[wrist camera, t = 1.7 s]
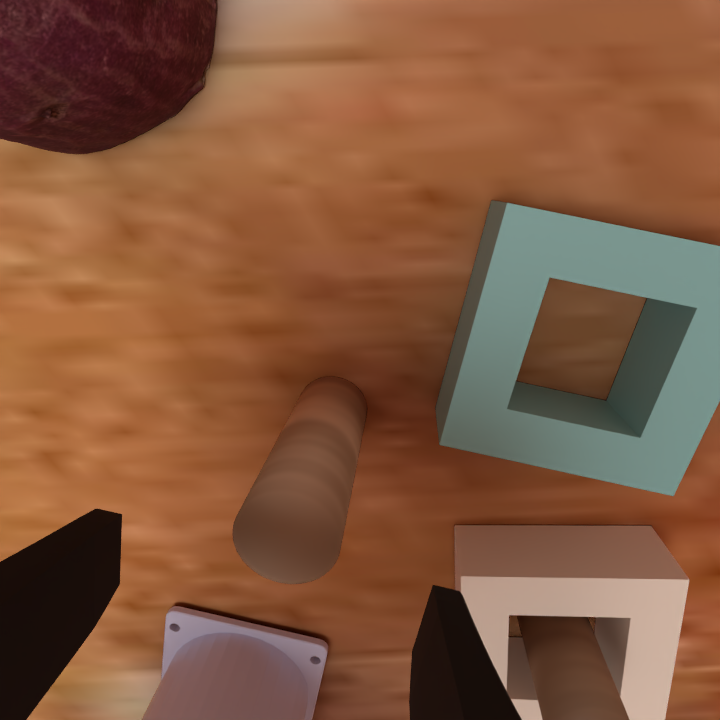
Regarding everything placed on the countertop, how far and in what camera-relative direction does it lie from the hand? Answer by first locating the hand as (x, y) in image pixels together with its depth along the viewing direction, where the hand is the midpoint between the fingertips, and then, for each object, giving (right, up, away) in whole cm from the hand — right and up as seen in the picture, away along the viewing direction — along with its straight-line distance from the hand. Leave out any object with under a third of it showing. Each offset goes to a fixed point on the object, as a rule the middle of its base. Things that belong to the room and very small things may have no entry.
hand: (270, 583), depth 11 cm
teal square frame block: (+10, +6, +7) cm, 13 cm away
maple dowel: (+1, +3, +9) cm, 10 cm away
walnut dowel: (+10, -6, +11) cm, 16 cm away
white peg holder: (+10, -6, +11) cm, 16 cm away
